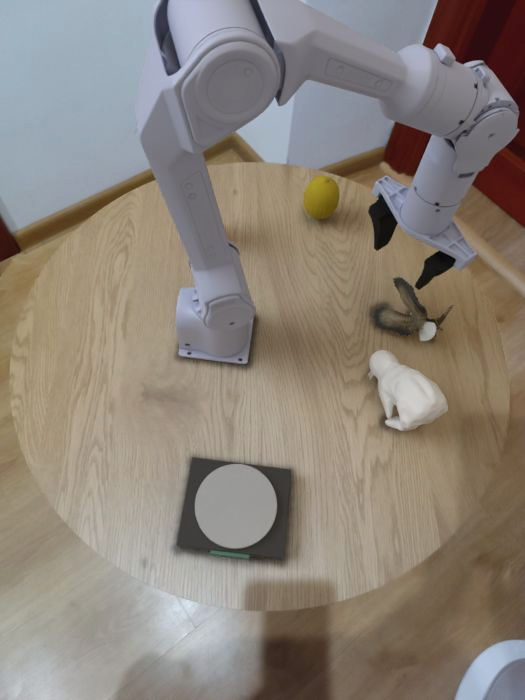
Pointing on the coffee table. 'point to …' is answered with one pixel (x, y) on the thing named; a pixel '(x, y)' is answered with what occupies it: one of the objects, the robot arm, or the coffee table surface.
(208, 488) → the scale
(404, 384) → the white crouching figurine
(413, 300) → the eagle figurine
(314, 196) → the lemon
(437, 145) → the robot arm
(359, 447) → the coffee table surface
